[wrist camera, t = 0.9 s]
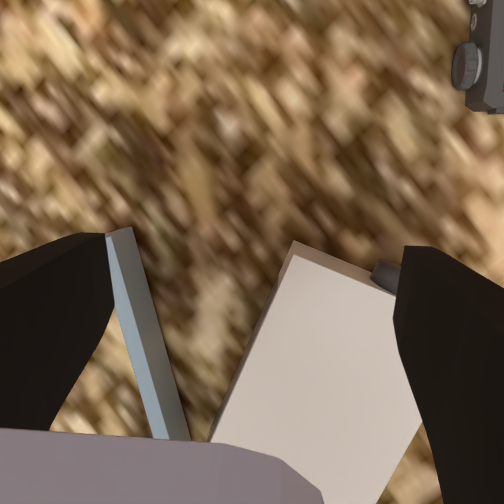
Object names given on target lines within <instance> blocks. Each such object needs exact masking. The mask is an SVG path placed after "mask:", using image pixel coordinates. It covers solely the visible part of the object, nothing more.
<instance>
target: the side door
mask: <svg viewBox="0 0 504 504" xmlns="http://www.w3.org/2000/svg"><path fill="white" fill-rule="evenodd" d="M105 237H106V244H107V251H108V258H109V265H110V272H111V280H112V287H113V294H114V301H115V309H116V312H117V316H118V319H119V322H120V326H121V329H122V333H123V336H124V339H125V343H126V346H127V350H128V353H129V356H130V360H131V363H132V366H133V370H134V373H135V377H136V380H137V383H138V387H139V390H140V394H141V397H142V400H143V404H144V407H145V410H146V414H147V417H148V421H149V424H150V427H151V431H152V434H153V438H154V439H168V440H183V441H191V438H190V434H189V430H188V427H187V423H186V420H185V416H184V412H183V409H182V405H181V402H180V398H179V394H178V391H177V387H176V384H175V380H174V376H173V373H172V369H171V366H170V362H169V358H168V355H167V351H166V348H165V344H164V340H163V337H162V333H161V330H160V326H159V322H158V319H157V315H156V312H155V308H154V305H153V301H152V297H151V294H150V290H149V287H148V283H147V279H146V276H145V272H144V269H143V265H142V261H141V258H140V254H139V251H138V247H137V243H136V240H135V236H134V233H133V229H132V226H131V227H126V228H121V229H117V230H115V231H113V232H109V233H105Z"/></svg>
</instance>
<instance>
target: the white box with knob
mask: <svg viewBox="0 0 504 504" xmlns="http://www.w3.org/2000/svg"><path fill="white" fill-rule="evenodd" d="M400 270H401V265H399V264H396V263H394V262H391V261H388V260H385V259H378V261H377V263H376V265H375V267H374V269H373V271H372V272H369V271H367V270H365V269H362V268H360V267H357V266H355V265H353V264H350V263H348V262H345V261H343V260H341V259H338V258H336V257H333V256H331V255H329V254H326V253H324V252H322V251H319V250H317V249H314V248H312V247H310V246H307V245H305V244H302V243H300V242H298V241H295V240H293V242H292V245H291V247H290V249H289V252H288V254H287V256H286V258H285V261H284V263H283V265H282V267H281V270H280V272H279V274H278V276H277V278H276V281H275V283H274V285H273V288H272V290H271V292H270V294H269V297H268V299H267V301H266V303H265V306H264V308H263V310H262V313H261V315H260V317H259V319H258V322H257V324H256V326H255V328H254V331H253V333H252V335H251V338H250V340H249V342H248V344H247V347H246V349H245V351H244V353H243V356H242V358H241V360H240V363H239V365H238V367H237V369H236V372H235V374H234V376H233V378H232V381H231V383H230V385H229V388H228V390H227V392H226V394H225V397H224V399H223V401H222V403H221V406H220V408H219V410H218V413H217V415H216V417H215V419H214V422H213V424H212V426H211V428H210V431H209V433H208V436H207V438H206V440H205V442H211V443H226V444H230V445H234V446H237V447H241V448H245V449H249V450H253V451H257V452H260V453H264V454H268V455H272V456H276V457H278V458H280V459H282V460H283V461H284V462H285V463H287V464H288V465H289V466H290V467H292V468H293V469H294V470H295V471H297V472H298V473H299V474H300V475H302V476H303V477H304V478H305V479H307V480H308V481H309V482H310V483H312V484H313V485H314V486H315V487H317V488H318V489H319V490H320V491H321V494H322V497H323V501H324V504H376V502H377V501H378V499H379V497H380V495H381V494H382V492H383V490H384V488H385V487H386V485H387V483H388V481H389V479H390V478H391V476H392V474H393V472H394V471H395V469H396V467H397V465H398V463H399V462H400V460H401V458H402V456H403V455H404V453H405V451H406V449H407V448H408V446H409V444H410V442H411V440H412V439H413V437H414V435H415V433H416V432H417V430H418V428H419V426H420V424H421V423H422V419H421V416H420V413H419V410H418V407H417V405H416V402H415V399H414V396H413V393H412V390H411V388H410V385H409V382H408V379H407V376H406V373H405V370H404V367H403V364H402V362H401V358H400V355H399V352H398V347H397V342H396V337H395V331H394V325H393V319H392V318H393V312H394V306H395V300H396V294H397V288H398V282H399V276H400Z"/></svg>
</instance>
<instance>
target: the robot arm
mask: <svg viewBox="0 0 504 504" xmlns="http://www.w3.org/2000/svg"><path fill="white" fill-rule="evenodd" d="M114 306H115V301H114V294H113V287H112V280H111V272H110V265H109V258H108V251H107V244H106V237H105V233H83V232H81V233H76V234H72V235H69V236H66V237H63V238H60V239H57V240H55V241H52V242H50V243H47V244H45V245H42V246H40V247H37V248H35V249H32V250H30V251H28V252H25V253H23V254H20V255H18V256H15V257H13V258H10V259H8V260H5V261H2V262H0V504H324V501H323V497H322V494H321V491H320V490H319V489H318V488H317V487H315V486H314V485H313V484H312V483H310V482H309V481H308V480H307V479H305V478H304V477H303V476H302V475H300V474H299V473H298V472H297V471H295V470H294V469H293V468H292V467H290V466H289V465H288V464H287V463H285V462H284V461H283V460H282V459H280V458H278V457H276V456H272V455H268V454H264V453H260V452H257V451H253V450H249V449H245V448H241V447H237V446H234V445H230V444H226V443H211V442H197V441H183V440H168V439H154V438H140V437H125V436H111V435H97V434H82V433H68V432H54V431H49V429H50V426H51V424H52V422H53V421H54V419H55V417H56V415H57V413H58V411H59V409H60V408H61V406H62V404H63V403H64V401H65V399H66V398H67V396H68V394H69V393H70V391H71V389H72V388H73V386H74V384H75V383H76V381H77V379H78V377H79V376H80V374H81V372H82V371H83V369H84V367H85V366H86V364H87V362H88V361H89V359H90V357H91V356H92V354H93V352H94V350H95V349H96V347H97V345H98V344H99V342H100V340H101V338H102V336H103V334H104V332H105V329H106V327H107V324H108V322H109V319H110V317H111V314H112V311H113V309H114ZM392 319H393V325H394V331H395V337H396V342H397V347H398V352H399V355H400V358H401V362H402V364H403V367H404V370H405V373H406V376H407V379H408V382H409V385H410V388H411V390H412V393H413V396H414V399H415V402H416V405H417V407H418V410H419V413H420V416H421V419H422V422H423V424H424V427H425V430H426V433H427V436H428V440H429V443H430V446H431V450H432V454H433V458H434V462H435V467H436V471H437V476H438V480H439V484H440V489H441V493H442V498H443V503H444V504H504V288H502V287H501V286H499V285H497V284H495V283H494V282H492V281H490V280H489V279H487V278H485V277H484V276H482V275H480V274H479V273H477V272H475V271H474V270H472V269H470V268H469V267H467V266H465V265H464V264H462V263H461V262H459V261H457V260H456V259H454V258H452V257H451V256H449V255H447V254H445V253H444V252H442V251H440V250H438V249H436V248H433V247H428V246H404V252H403V258H402V264H401V270H400V276H399V282H398V288H397V294H396V300H395V306H394V312H393V318H392Z"/></svg>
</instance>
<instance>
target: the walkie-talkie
mask: <svg viewBox="0 0 504 504" xmlns="http://www.w3.org/2000/svg"><path fill="white" fill-rule="evenodd" d="M468 1H469V4H472V7H471V22H470V37H469V42H464V43H462V44H461V45H460V46H459V47H458V48H457V51H456V53H455V57H454V60H453V66H452V79H453V85H454V87H455V88H456V89H457V90H466V98H465V106H466V107H468V108H469V109H470V110H472V111H473V112H480V111H488V114H504V0H468Z"/></svg>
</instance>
